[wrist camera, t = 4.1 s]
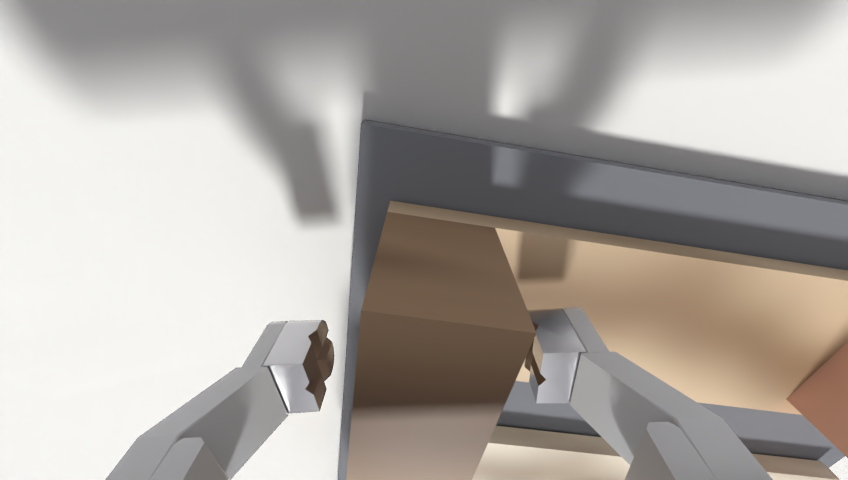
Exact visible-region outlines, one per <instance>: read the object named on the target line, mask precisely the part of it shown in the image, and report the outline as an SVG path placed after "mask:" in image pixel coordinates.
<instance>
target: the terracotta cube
mask: <svg viewBox="0 0 848 480" xmlns="http://www.w3.org/2000/svg"><path fill="white" fill-rule="evenodd" d="M786 400H787V401H788V402H789V403H791V404H792V405H793V406H794V407H795V408H796V409H797V410H798V411H799V412H800V413H801V414H802V415H803V416H804V417H805V418H806V419H807V420H808V421H809V422H810V423H812V424H813V425H814V426H815V427H816V428H817V429H818V430H819V431H820V432H821V433H822V434H823V435H824V436H825V437H826V438H827V439H828V440H829V441H830V442H831V443H833V444H834V445H835V446H836V447H837V448H838V449H839V450H840V451H841V452H842V453H843V454H844V455H845V456H846V457H847V458H848V342H847V343H846V344H845V345H844V346H843V347H842V348H841V349H840V350H838V351H837V352H836V353H835V354H834V355H833V356H832V357H831V358H830V359H829V360H828V361H827V362H826V363H824V364H823V365H822V366H821V367H820V368H819V369H818V370H817V371H816V372H815V373H814V374H813V375H812V376H811V377H809V378H808V379H807V380H806V381H805V382H804V383H803V384H802V385H801V386H800V387H799V388H798V389H797V390H795V391H794V392H793V393H792V394H791V395H790V396H789V397H788V398H787V399H786Z"/></svg>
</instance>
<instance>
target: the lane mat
mask: <svg viewBox="0 0 848 480" xmlns="http://www.w3.org/2000/svg"><path fill="white" fill-rule="evenodd" d="M390 201H397V202H403V203H410V204H416V205H423V206H429V207H436V208H442V209H449V210H455V211H462V212H469V213H475V214H482V215H488V216H495V217H501V218H508V219H514V220H521V221H527V222H534V223H540V224H547V225H554V226H560V227H567V228H573V229H580V230H586V231H593V232H599V233H606V234H612V235H619V236H626V237H632V238H639V239H645V240H652V241H658V242H665V243H671V244H678V245H684V246H691V247H698V248H704V249H711V250H717V251H724V252H730V253H737V254H743V255H750V256H756V257H763V258H770V259H776V260H783V261H789V262H796V263H802V264H809V265H815V266H822V267H828V268H835V269H842V270H848V201H844V200H838V199H832V198H826V197H820V196H814V195H808V194H802V193H796V192H790V191H784V190H779V189H773V188H767V187H761V186H755V185H749V184H743V183H737V182H731V181H725V180H719V179H713V178H707V177H701V176H695V175H689V174H684V173H678V172H672V171H666V170H660V169H654V168H648V167H642V166H636V165H630V164H624V163H618V162H612V161H606V160H600V159H595V158H589V157H583V156H577V155H571V154H565V153H559V152H553V151H547V150H541V149H535V148H529V147H523V146H517V145H511V144H505V143H500V142H494V141H488V140H482V139H476V138H470V137H464V136H458V135H452V134H446V133H440V132H434V131H428V130H422V129H416V128H411V127H405V126H399V125H393V124H387V123H381V122H375V121H369V120H364V121H363V122H362V123H361V135H360V151H359V166H358V181H357V196H356V211H355V227H354V242H353V257H352V272H351V288H350V303H349V318H348V333H347V349H346V364H345V379H344V394H343V410H342V425H341V440H340V455H339V470H338V480H346V475H347V464H348V453H349V442H350V430H351V419H352V408H353V396H354V385H355V374H356V363H357V351H358V340H359V329H360V317H361V309H362V305H363V301H364V298H365V294H366V290H367V286H368V283H369V279H370V275H371V271H372V267H373V264H374V260H375V256H376V252H377V249H378V245H379V241H380V237H381V234H382V230H383V226H384V222H385V218H386V215H387V211H388V207H389V203H390ZM697 403H698V402H697ZM699 404H700V405H702V406H703V407H705V408H707V409H708V410H710V411H711V412H713V413H715V414H716V415H718V416H719V417H721V418H723V419H724V421H725V422H726V423H727V424H728V425H729V427H730V428H731V429H732V430H733V432H734V433H735V434H736V435H737V436H738V438H739V439H740V440H741V441H742V443H743V444H744V445H745V446H746V447H747V449H748V450H749V451H750V452H751V454H760V455H769V456H779V457H788V458H797V459H806V460H815V461H822V462H823V463H824V464H825V465H826V466H827V467H828V468H829V467H830V466H832V465H833V464H835V463H836V462H837V461H839V460H840V459H842V458H843V457H844V456H845V455H844V454H843V453H842V452H841V451H840V450H839V449H838V448H837V447H836V446H835V445H834V444H833V443H831V442H830V441H829V440H828V439H827V438H826V437H825V436H824V435H823V434H822V433H821V432H820V431H819V430H818V429H817V428H816V427H815V426H814V425H813V424H812V423H810V422H809V421H808V420H807V419H806V418H805V417H804V416H803V415H799V414H790V413H782V412H774V411H765V410H757V409H748V408H740V407H732V406H723V405H715V404H706V403H699ZM496 426H503V427H513V428H522V429H531V430H540V431H549V432H558V433H568V434H577V435H586V436H595V437H601V436H600V435H599V434H598V433H597V432H596V431H595V430H594V429H593V428H592V427H591V426H590V425H589V424H588V423H587V422H586V421H585V420H584V419H583V418H582V417H581V416H580V415H579V414H578V413H577V412H576V411H575V410H574V409H573V408H572V407H571V406H570V403H536V401H535V398H534V395H533V392H532V389H531V386H530V382H521V381H515V383H514V385H513V388H512V390H511V392H510V394H509V397H508V399H507V401H506V403H505V406H504V408H503V410H502V413H501V415H500V417H499V419H498V422H497V424H496Z"/></svg>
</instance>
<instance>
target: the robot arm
mask: <svg viewBox="0 0 848 480" xmlns="http://www.w3.org/2000/svg"><path fill="white" fill-rule="evenodd" d="M528 313H529V315H530V318H531V321H532V323H533V326H534V328H535V331H536V335H535V338H534V340H533V342H532V344H531V347H530V349H529V351H528V353H527V356H526V358H525V360H524V366H525V368H526V369H527V370H529V371H530V378H529V382H530V386H531V389H532V392H533V395H534V398H535V401H536V403H570V406H571V407H572V408H573V409H574V410H575V411H576V412H577V413H578V414H579V415H580V416H581V417H582V418H583V419H584V420H585V421H586V422H587V423H588V424H589V425H590V426H591V427H592V428H593V429H594V430H595V431H596V432H597V433H598V434H599V435H600V436H601V437H602V438H603V439H604V440H605V441H606V442H607V443H608V444H609V445H610V446H611V447H612V448H613V449H614V450H615V451H616V452H617V453H618V454H619V455H620V456H621V457H622V458H623V459H624V460H625V461H626V462H627V463H628V464H629V465H630V468H629V470H628V473H627V475H626V477H625V480H773V479H772V478H771V477H770V476H769V474H768V473H767V472H766V471H765V469H764V468H763V467H762V466H761V465H760V463H759V462H758V461H757V460H756V458H755V457H754V456H753V455H752V454H751V452H750V451H749V450H748V449H747V447H746V446H745V445H744V444H743V443H742V441H741V440H740V439H739V438H738V436H737V435H736V434H735V433H734V432H733V430H732V429H731V428H730V427H729V425H728V424H727V423H726V422H725V421H724V419H723V418H721V417H719V416H718V415H716V414H715V413H713V412H711V411H710V410H708V409H707V408H705V407H703V406H702V405H700V404H699V403H697V402H695V401H694V400H692V399H691V398H689V397H687V396H686V395H684V394H683V393H681V392H679V391H678V390H676V389H675V388H673V387H671V386H670V385H668V384H667V383H665V382H663V381H662V380H660V379H659V378H657V377H655V376H654V375H652V374H651V373H649V372H647V371H646V370H644V369H643V368H641V367H639V366H638V365H636V364H635V363H633V362H631V361H630V360H628V359H627V358H625V357H623V356H622V355H620V354H619V353H617V352H609V350H608V349H607V347H606V345H605V344H604V342H603V341H602V339H601V337H600V336H599V334H598V333H597V331H596V330H595V328H594V326H593V325H592V323H591V322H590V320H589V318H588V317H587V315H586V314H585V312H584V310H583V309H582V308H580V307H566V308H554V309H536V310H528ZM327 333H328V327H327V324H326V322H325V321H323V320H305V321H280V322H271V323H269V324H268V325H267V326H266V328H265V330H264V331H263V333H262V335H261V336H260V338H259V339H258V341H257V343H256V344H255V346H254V348H253V349H252V351H251V353H250V354H249V356H248V358H247V359H246V361H245V362H244V364H243V366H242V367H241V368H235V369H234V370H232V371H231V372H229V373H228V374H227V375H225V376H224V377H222V378H221V379H220V380H218V381H217V382H215V383H214V384H212V385H211V386H210V387H208V388H207V389H205V390H204V391H203V392H201V393H200V394H198V395H197V396H196V397H194V398H193V399H191V400H190V401H189V402H187V403H186V404H184V405H183V406H182V407H180V408H179V409H177V410H176V411H175V412H173V413H172V414H170V415H169V416H168V417H166V418H165V419H163V420H162V421H160V422H159V423H158V424H156V425H155V426H153V427H152V428H151V429H149V430H148V431H146V432H145V433H144V434H142V435H141V436H139V437H138V438H137V439H136V441H135V442H134V443H133V445H132V446H131V447H130V448H129V450H128V451H127V452H126V454H125V455H124V456H123V458H122V459H121V460H120V461H119V463H118V464H117V465H116V467H115V468H114V469H113V471H112V472H111V473H110V474H109V476H108V477H107V478H106V480H231V478H232V477H233V476H234V475H235V474H236V473H237V472H238V471H239V470H240V468H241V467H242V466H243V465H244V464H245V463H246V462H247V461H248V460H249V458H250V457H251V456H252V455H253V454H254V453H255V452H256V451H257V450H258V448H259V447H260V446H261V445H262V444H263V443H264V442H265V441H266V440H267V438H268V437H269V436H270V435H271V434H272V433H273V432H274V431H275V430H276V428H277V427H278V426H279V425H280V424H281V423H282V422H283V421H284V420H285V418H286V417H287V416H288V413H301V412H316V411H320V408H321V405H322V402H323V399H324V395H325V392H326V386H325V383H324V381H325V380H326V379H327V378H328V377H329V376H330V375H331V373H332V369H333V364H334V348H333V344H332V342H331V341H330V340H329V339H328V338H326V336H327Z"/></svg>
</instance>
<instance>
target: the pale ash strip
mask: <svg viewBox="0 0 848 480" xmlns="http://www.w3.org/2000/svg"><path fill="white" fill-rule="evenodd" d="M752 455H753V456H754V457H755V458H756V460H757V461H758V462H759V463H760V465H761V466H762V467H763V468H764V469H765V471H766V472H767V473H768V474H769V476H770V477H771V478H772V479H773V480H839V479H838V477H837V476H836V475H835V474H834V473H833V472H832V471H831V470H830V469H829V468H828V467H827V466H826V465H825V464H824V463H823V462H822V461H815V460H806V459H797V458H788V457H779V456H769V455H760V454H752ZM629 468H630V465H629V464H628V463H627V462H626V461H625V460H624V459H623V458H622V457H621V456H620V455H619V454H618V453H617V452H616V451H615V450H614V449H613V448H612V447H611V446H610V445H609V444H608V443H607V442H606V441H605V440H604V439H603V438H602V437H595V436H586V435H577V434H568V433H558V432H549V431H540V430H531V429H522V428H513V427H503V426H495V428H494V431H493V433H492V435H491V438H490V440H489V442H488V444H487V447H486V449H485V451H484V453H483V456H482V458H481V460H480V463H479V465H478V467H477V469H476V472H475V474H474V476H473V478H472V480H625V477H626V475H627V473H628V470H629Z"/></svg>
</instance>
